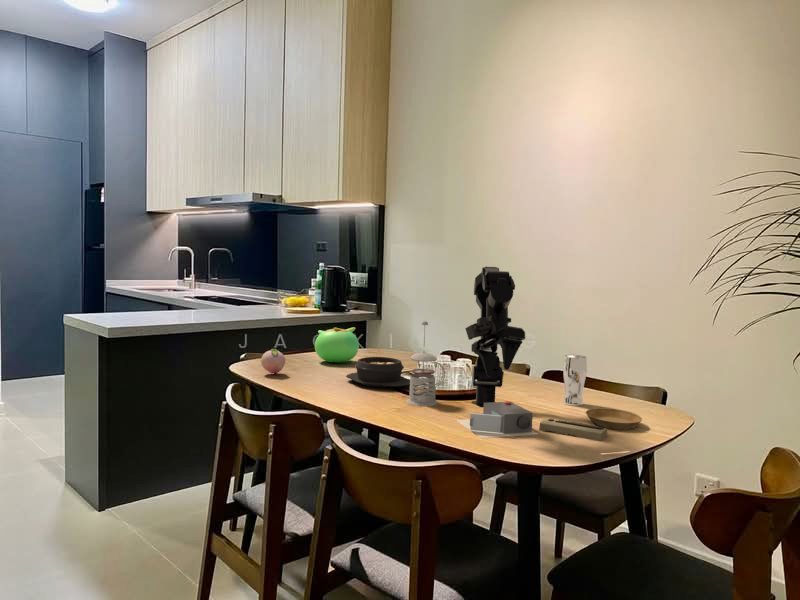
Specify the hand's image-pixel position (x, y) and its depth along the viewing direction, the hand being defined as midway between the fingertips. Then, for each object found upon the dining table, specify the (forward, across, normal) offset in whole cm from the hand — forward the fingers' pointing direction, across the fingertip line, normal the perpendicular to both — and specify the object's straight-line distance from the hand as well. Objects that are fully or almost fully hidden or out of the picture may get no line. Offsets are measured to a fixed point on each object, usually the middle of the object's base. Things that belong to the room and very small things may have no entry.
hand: (497, 372), depth 153 cm
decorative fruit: (-9, -82, -46) cm, 95 cm away
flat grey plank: (+14, +1, +21) cm, 26 cm away
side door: (+15, -3, -2) cm, 15 cm away
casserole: (-6, -61, -12) cm, 62 cm away
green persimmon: (-21, -101, -19) cm, 105 cm away
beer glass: (+1, -24, +40) cm, 46 cm away
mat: (+13, -7, +4) cm, 15 cm away
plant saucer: (+9, -4, +38) cm, 39 cm away
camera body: (+12, -7, +6) cm, 15 cm away
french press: (+3, -35, -6) cm, 36 cm away
